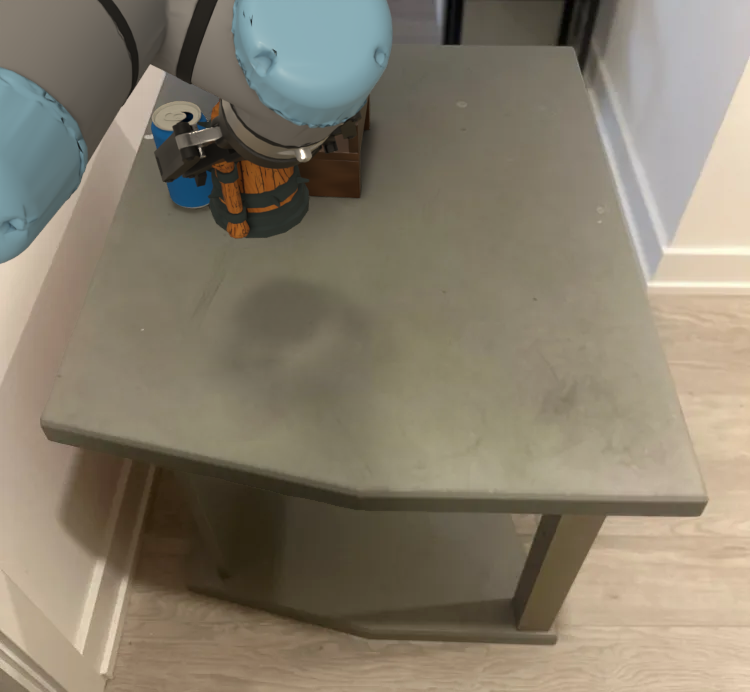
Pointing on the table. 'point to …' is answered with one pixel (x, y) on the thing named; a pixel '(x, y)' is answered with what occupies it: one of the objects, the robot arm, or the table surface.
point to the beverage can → (161, 127)
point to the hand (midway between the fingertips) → (250, 159)
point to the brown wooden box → (338, 165)
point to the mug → (256, 197)
